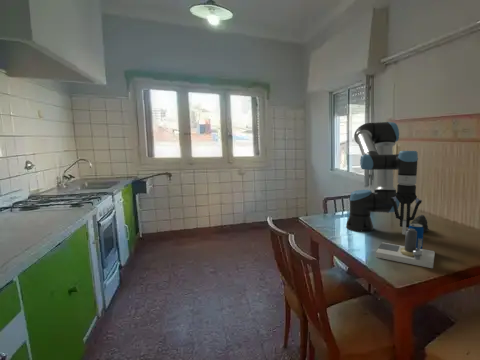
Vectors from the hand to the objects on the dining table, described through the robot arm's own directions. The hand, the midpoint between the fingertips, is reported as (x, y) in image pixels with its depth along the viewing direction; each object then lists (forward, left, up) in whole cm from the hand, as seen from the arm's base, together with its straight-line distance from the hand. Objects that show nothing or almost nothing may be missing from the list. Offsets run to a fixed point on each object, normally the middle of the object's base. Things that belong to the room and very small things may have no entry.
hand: (404, 233), depth 137 cm
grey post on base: (+3, -7, -9) cm, 12 cm away
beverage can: (+4, +9, -10) cm, 14 cm away
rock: (+3, +43, -10) cm, 44 cm away
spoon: (+6, -5, -5) cm, 10 cm away
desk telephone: (+1, -5, -9) cm, 11 cm away
